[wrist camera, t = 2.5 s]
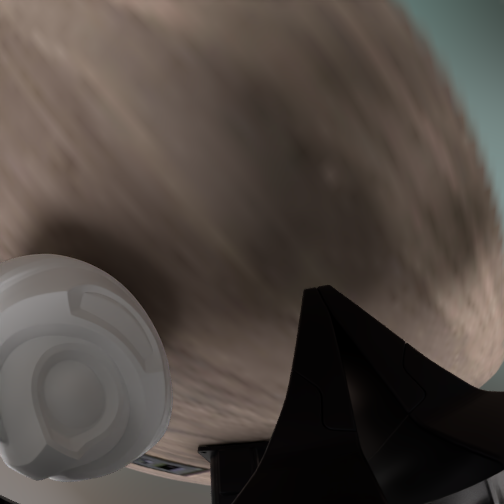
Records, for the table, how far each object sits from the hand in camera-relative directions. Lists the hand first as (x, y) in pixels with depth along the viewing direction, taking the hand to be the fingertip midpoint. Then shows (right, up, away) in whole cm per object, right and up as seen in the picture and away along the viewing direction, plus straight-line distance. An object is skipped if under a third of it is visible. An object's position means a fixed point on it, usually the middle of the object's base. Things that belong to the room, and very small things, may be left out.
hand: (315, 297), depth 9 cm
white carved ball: (-9, 0, +2) cm, 9 cm away
